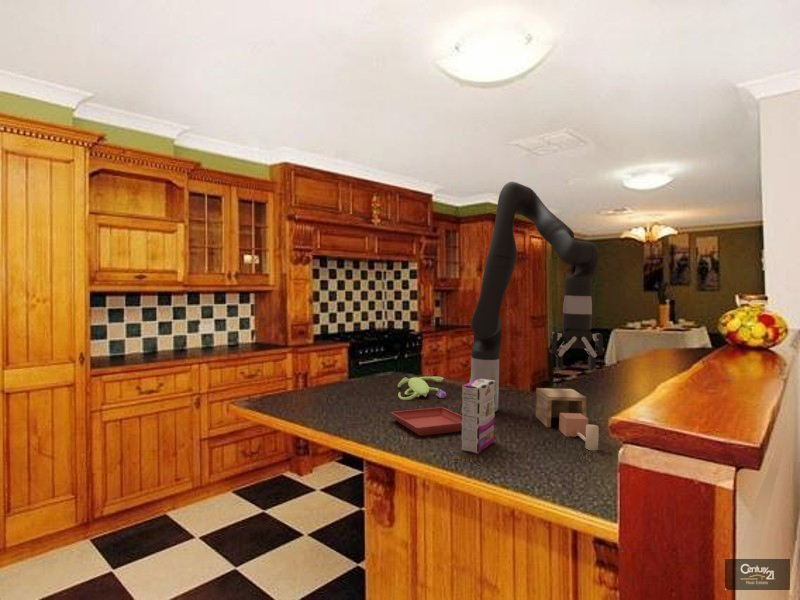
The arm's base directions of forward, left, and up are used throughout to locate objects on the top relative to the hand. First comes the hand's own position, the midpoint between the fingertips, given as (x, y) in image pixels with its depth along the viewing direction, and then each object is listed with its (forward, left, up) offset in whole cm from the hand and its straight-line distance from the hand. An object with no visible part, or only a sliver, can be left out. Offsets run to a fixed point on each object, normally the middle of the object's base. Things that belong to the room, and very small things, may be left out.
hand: (575, 369), depth 133 cm
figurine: (-41, +48, -19) cm, 66 cm away
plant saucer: (-40, +4, -19) cm, 44 cm away
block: (0, -6, -18) cm, 19 cm away
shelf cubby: (0, +12, -18) cm, 22 cm away
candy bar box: (-29, -13, -18) cm, 37 cm away
